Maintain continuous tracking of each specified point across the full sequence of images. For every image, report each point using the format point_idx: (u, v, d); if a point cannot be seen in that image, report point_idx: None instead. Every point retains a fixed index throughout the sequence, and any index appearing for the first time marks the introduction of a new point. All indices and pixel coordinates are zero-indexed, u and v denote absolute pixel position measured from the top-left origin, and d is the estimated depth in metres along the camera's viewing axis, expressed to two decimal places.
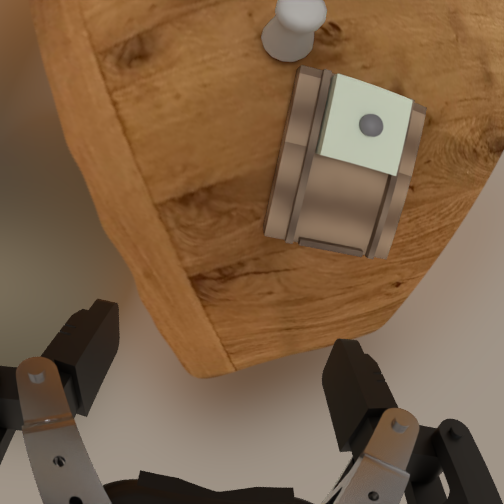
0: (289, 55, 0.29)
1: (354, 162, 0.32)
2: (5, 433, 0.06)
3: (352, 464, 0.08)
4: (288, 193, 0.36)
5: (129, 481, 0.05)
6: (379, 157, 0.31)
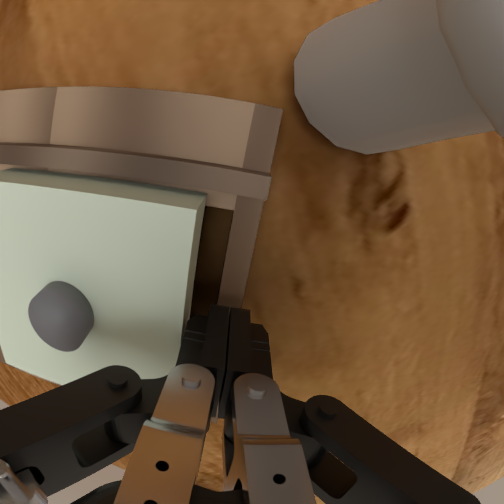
0: (310, 66, 0.09)
1: None
2: (119, 450, 0.07)
3: (228, 442, 0.08)
4: None
5: None
6: (15, 330, 0.11)
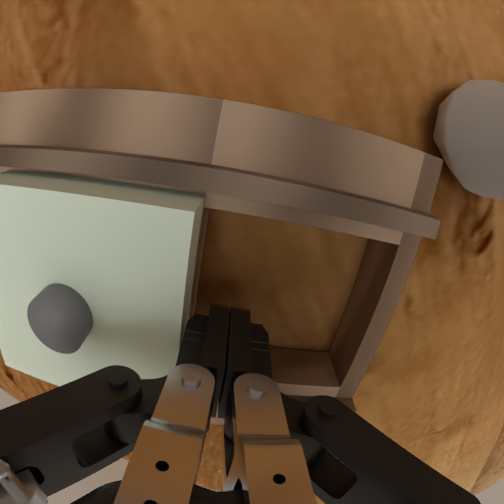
0: (474, 130, 0.10)
1: None
2: (119, 450, 0.07)
3: (228, 442, 0.08)
4: (75, 128, 0.10)
5: None
6: (15, 332, 0.11)
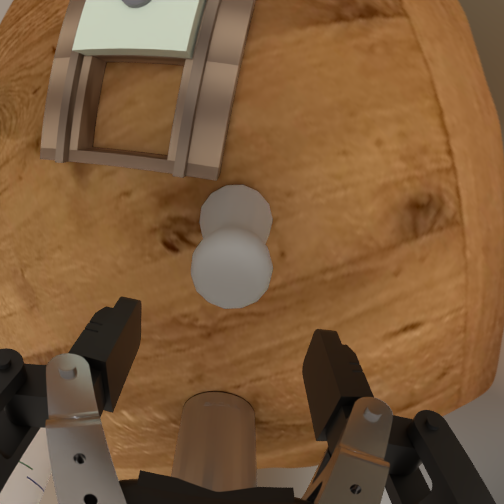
0: (235, 193, 0.23)
1: None
2: (27, 432, 0.06)
3: (328, 455, 0.08)
4: None
5: (129, 481, 0.05)
6: None
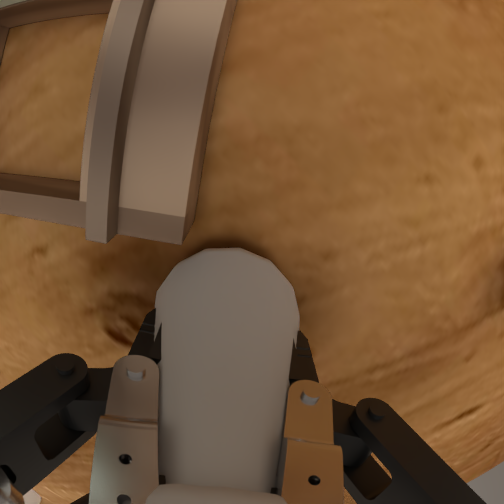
0: (221, 279, 0.10)
1: None
2: (78, 438, 0.07)
3: None
4: None
5: None
6: None
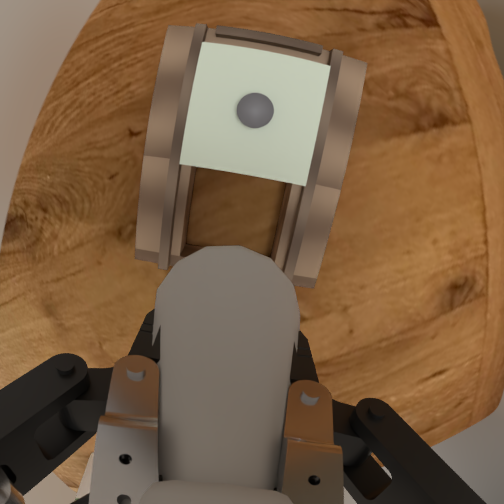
0: (222, 277, 0.10)
1: (276, 55, 0.19)
2: (78, 438, 0.07)
3: None
4: (337, 118, 0.23)
5: None
6: (235, 65, 0.19)
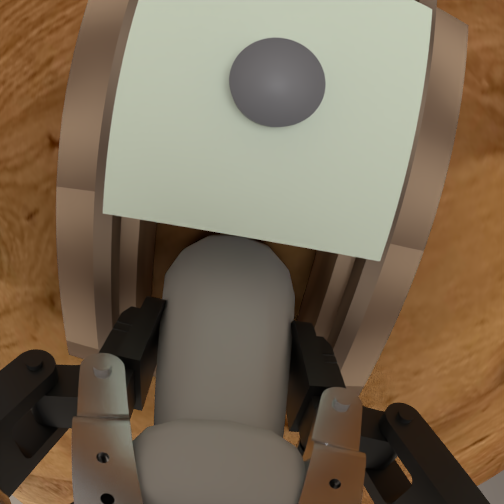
0: (225, 259, 0.12)
1: None
2: (52, 434, 0.06)
3: (301, 448, 0.08)
4: (427, 116, 0.11)
5: None
6: None
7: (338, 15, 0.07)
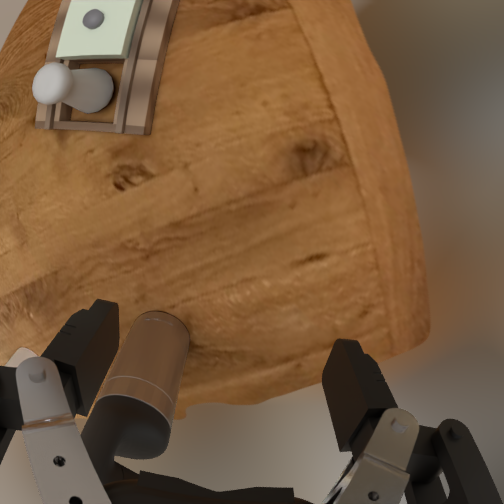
0: None
1: None
2: (5, 433, 0.06)
3: (352, 464, 0.08)
4: (154, 17, 0.28)
5: (129, 481, 0.05)
6: None
7: None
